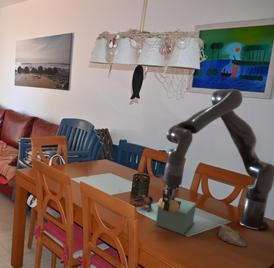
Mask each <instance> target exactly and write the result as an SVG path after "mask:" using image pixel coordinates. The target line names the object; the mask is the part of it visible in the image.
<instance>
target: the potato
mask: <svg viewBox="0 0 274 268" xmlns="http://www.w3.org/2000/svg"><path fill="white" fill-rule="evenodd" d="M162 200H163V197H162V198H161V197H160V199H159V200H158V202H157V203H158V204H159V206H160V208H162V209H163V207H164V202H162ZM166 200H167V198H166ZM158 204H157V205H158ZM178 209H179V204H178V202H177V201H175V200H171V201H170V206H169V211H171V212H176V211H177V210H178Z"/></svg>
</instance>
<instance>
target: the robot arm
mask: <svg viewBox="0 0 274 268" xmlns="http://www.w3.org/2000/svg"><path fill="white" fill-rule="evenodd" d="M210 99H211V106H208V107H206V108H204V109H201V110H199V111H197V112H196V113H194V114H192V115H191V116H190V117H189V118H187V119H186V120H184V121H181V122H179V123H177V124H174V125H172V126H171V127H169V129H167V131H166V139H167V141H168V142H170V143H172V144H175V145H176V144H177V146H176V148H170V149H168V151H167V156H166V163H165V166H164V172H163V180H162V181H163V183H164V184H166V186H165V187H164V189H163V191H162V198H163V200H162V202H164V207H163V210H164V211H169V206H170V201H171V200H175V198H178V191H179V187H180V186H181V185H182V182H183V177H184V170H185V160H186V155H187V152H188V151H189V148H190V147H191V145H192V142H193V138H194V136H193V135H195V134H197V133H199V132H200V131H202V130H203V129H204V128H206V127H207V126H208V125H210V124H211V123H212V122H214V121H215V120H218V119H221V121H222V122H223V124H224V126H225V128H226V129H227V131H228V133H229V136H230V138H231V140H232V142H233V144H234V145H235V147H236V149H237V151H238V153H239V156H240V158H241V160H242V163H243V166H244V169H245V172H246V174H247V175H248V176H249V177H251V178H252V179H255V183H254V184H249V185H247V186H246V190H245V194H244V200H243V204H242V209H241V215H240V220H239V224H240V225H241V226H243V227H245V228H246V229H249V230H254V231H255V230H256V231H262V228H263V227H264V229H266V230H267V229H268V228H269V224H268V219H266V218H265V216H266V208H267V205H268V199H269V195H270V192H271V191H272V189H273V186H274V164H272V163H269V162H266V161H263V160H261V159H260V158H259V156H258V155H257V153H256V145H257V137H256V134H255V132H254V131H253V128H252V126H251V125H250V124H249V123H248V122H247V121H245V120H244V119H243V118H241V117H240V116H239V115H238V114H237V113H236V112H235V111H234V110H236V109H238V108H239V107H240V106H241V105H242V103H243V94H242V92H241V91H240V90H239V89H235V88H227V89H217V90H215V91H213V92H212V94H211V98H210ZM166 198H167V200H166Z"/></svg>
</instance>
